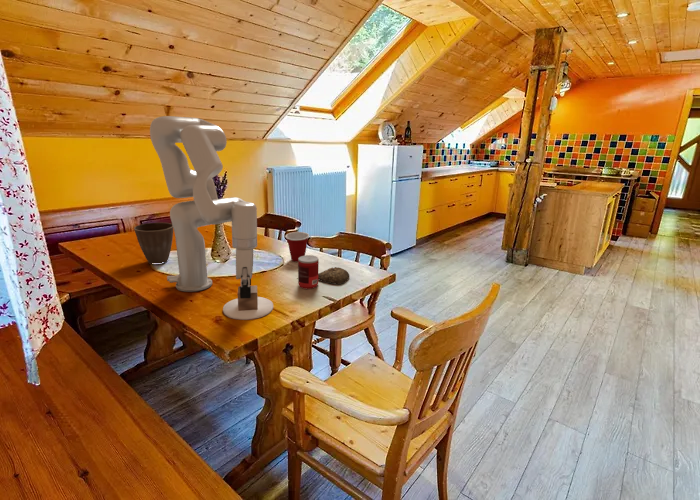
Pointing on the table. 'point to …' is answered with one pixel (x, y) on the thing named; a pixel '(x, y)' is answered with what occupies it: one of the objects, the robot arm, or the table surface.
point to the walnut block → (248, 300)
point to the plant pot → (155, 241)
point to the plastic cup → (297, 244)
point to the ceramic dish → (263, 309)
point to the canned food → (308, 271)
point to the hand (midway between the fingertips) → (245, 291)
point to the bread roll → (334, 276)
